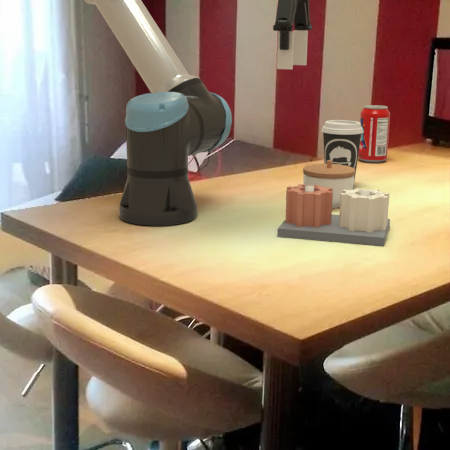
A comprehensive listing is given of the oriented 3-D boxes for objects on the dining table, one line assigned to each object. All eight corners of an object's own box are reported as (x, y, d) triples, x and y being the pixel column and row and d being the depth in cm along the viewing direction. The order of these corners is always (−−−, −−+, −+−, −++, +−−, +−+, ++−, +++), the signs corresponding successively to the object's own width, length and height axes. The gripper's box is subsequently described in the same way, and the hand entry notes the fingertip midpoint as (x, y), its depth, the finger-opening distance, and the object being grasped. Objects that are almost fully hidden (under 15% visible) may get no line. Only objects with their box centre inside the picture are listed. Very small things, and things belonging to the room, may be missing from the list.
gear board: (277, 236, 132) (278, 192, 129) (292, 218, 144) (293, 178, 141) (383, 246, 126) (386, 200, 124) (389, 226, 138) (392, 184, 136)
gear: (284, 226, 133) (285, 193, 131) (286, 214, 140) (287, 183, 139) (331, 228, 132) (333, 195, 130) (330, 216, 140) (332, 185, 138)
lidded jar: (352, 212, 149) (355, 166, 146) (299, 209, 151) (300, 164, 148) (354, 200, 159) (356, 157, 156) (304, 197, 161) (306, 155, 158)
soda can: (380, 164, 198) (384, 108, 194) (353, 161, 202) (356, 106, 198) (391, 160, 205) (394, 105, 201) (364, 157, 209) (367, 103, 205)
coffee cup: (369, 188, 170) (373, 123, 166) (338, 193, 165) (341, 126, 161) (340, 180, 178) (343, 118, 174) (310, 185, 173) (312, 121, 169)
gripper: (304, -63, 119) (299, 71, 125) (328, -49, 142) (323, 63, 148) (259, -62, 121) (256, 70, 127) (289, -48, 144) (286, 63, 150)
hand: (292, 67), depth 138 cm, fingers open, 13 cm apart
